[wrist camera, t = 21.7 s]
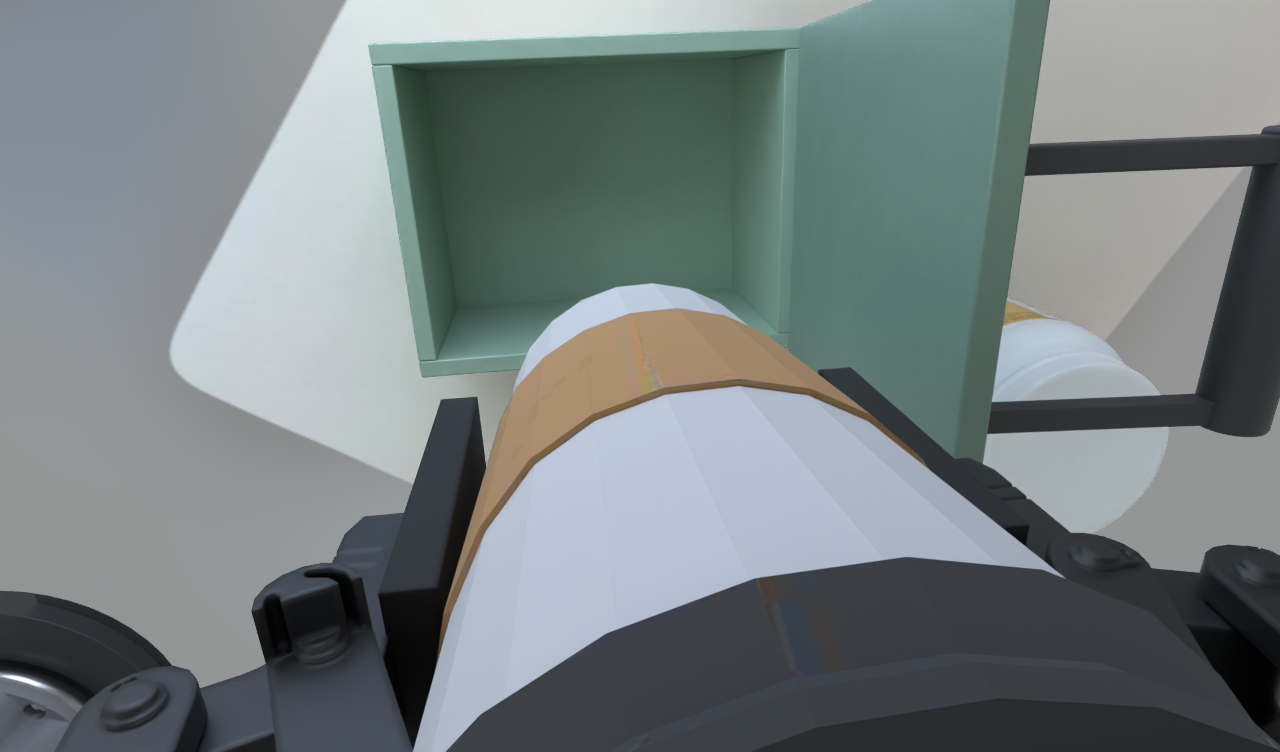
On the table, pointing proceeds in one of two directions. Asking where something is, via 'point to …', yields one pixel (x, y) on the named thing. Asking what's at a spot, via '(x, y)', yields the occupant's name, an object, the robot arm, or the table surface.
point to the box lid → (982, 224)
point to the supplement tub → (1070, 460)
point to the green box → (586, 179)
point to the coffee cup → (767, 575)
